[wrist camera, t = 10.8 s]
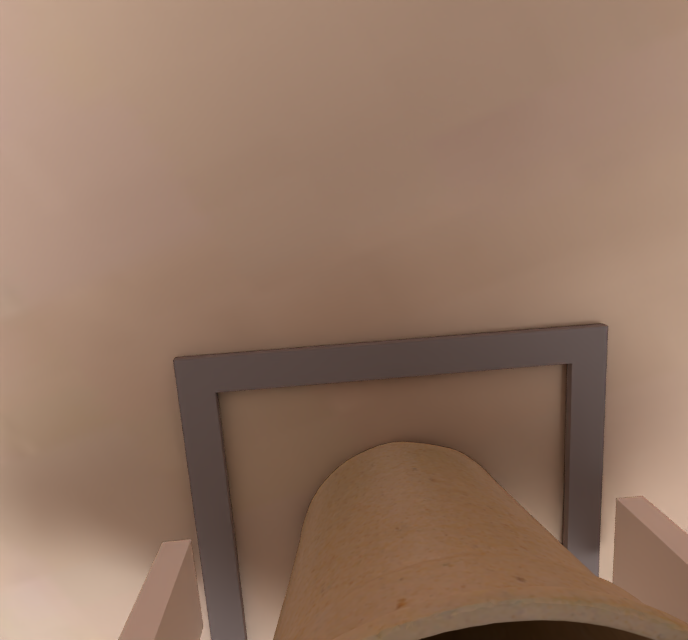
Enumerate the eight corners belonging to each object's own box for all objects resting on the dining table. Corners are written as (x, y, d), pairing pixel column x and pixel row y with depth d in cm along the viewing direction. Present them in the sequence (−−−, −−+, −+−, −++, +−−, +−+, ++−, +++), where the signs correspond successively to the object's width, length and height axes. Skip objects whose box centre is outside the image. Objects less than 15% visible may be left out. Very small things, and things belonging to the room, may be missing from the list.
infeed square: (176, 357, 14) (173, 360, 14) (602, 323, 15) (608, 326, 15) (224, 717, 17) (223, 726, 16) (589, 677, 17) (594, 684, 17)
